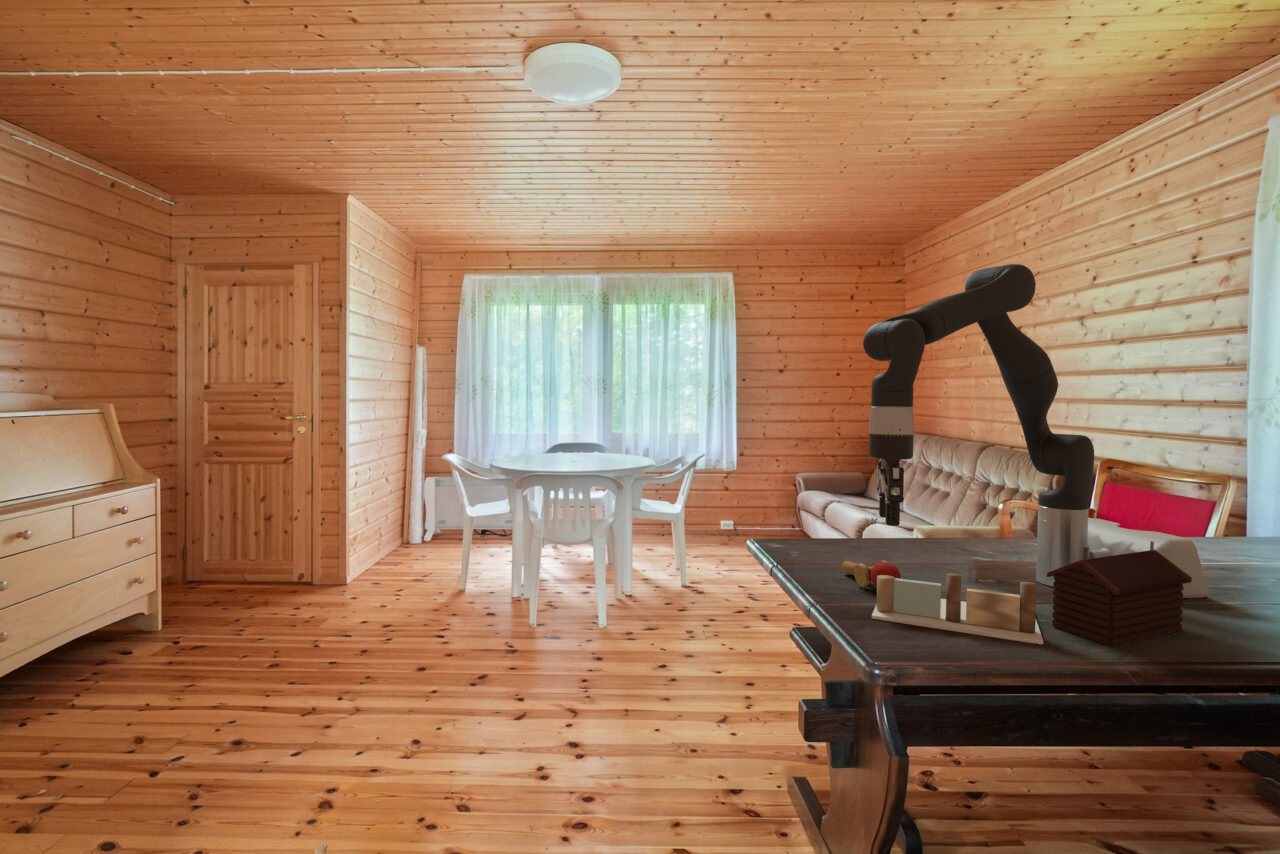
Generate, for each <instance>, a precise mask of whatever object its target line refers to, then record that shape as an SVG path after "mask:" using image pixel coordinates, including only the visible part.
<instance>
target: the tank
mask: <svg viewBox="0 0 1280 854" xmlns="http://www.w3.org/2000/svg"><path fill="white" fill-rule="evenodd" d="M1120 526H1121V523H1118V522H1116V521H1115V522H1114V521H1111V520H1106V519H1102V518H1097V517H1095V518H1093V517H1092V518H1091V517H1088V542H1087V544H1088V545H1089V559H1093V558H1100V557H1107V556H1114V555H1121V554H1128V553H1135V552H1142V551H1149V550H1150V541H1153V542H1154V550H1156V551H1157V552H1159V553H1160V554H1161V555H1163V556H1164V557H1165V558H1167V559H1168V560H1169V561H1171V562H1172V563H1173V564H1175V565H1176V566H1177V567H1178V568H1180V569H1181V570H1182V571H1184V572H1185V573H1186V574H1188V575H1189V576H1190V577H1192V582H1190V583H1185V584H1183V587H1184V589H1183V590H1182V593H1183V598H1189V599H1207V598H1209V597H1210V591H1209V587H1208V583H1207V580H1206V578H1205V577H1206V576H1205V573H1204V571H1203V566H1202V564H1201V560H1200V556H1199V554H1198V550H1197V546H1196V544H1195V543H1194V542H1193V541H1192V540H1191V539H1189V538H1186V537H1182V536H1177V535H1174V534H1169V533H1163V532H1161V531H1160V532H1159V531H1151V530H1139V529H1131V528H1124V527H1120ZM1204 597H1205V598H1204ZM1206 597H1207V598H1206Z"/></svg>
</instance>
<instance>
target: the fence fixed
mask: <svg viewBox="0 0 1280 854" xmlns="http://www.w3.org/2000/svg"><path fill="white" fill-rule="evenodd" d="M945 587H946V588H945V589H946V591H945V599H946V620H947V621H950V622H960V618H961V601H962V575H961V574H960V573H954V572H947V573H946V586H945ZM1037 587H1038V586H1037V583H1035V582H1032V581H1026V580H1025V581H1020V582H1019V594H1015V593H1007V592H1006V593H1005V592H999V591H998V592H997V591H990V590H983V589H974V588H966V601H965V602H966V623H968V624H975V625H982V626H988V627H995V628H1002V629H1009V630H1016V631H1019V630H1020V631H1021V632H1025V633H1030V634H1034V633H1035V623H1036V621H1037V618H1036V615H1037V614H1036V613H1037V612H1036V611H1037Z"/></svg>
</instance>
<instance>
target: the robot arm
mask: <svg viewBox="0 0 1280 854" xmlns="http://www.w3.org/2000/svg"><path fill="white" fill-rule="evenodd" d="M1035 292H1036V279H1035V275H1034V273H1033V271H1032V270H1031V269H1030V268H1029V267H1027V266H1026V265H1023V264H1019V263H1014V264H1013V263H1012V264H1011V263H1010V264H1003V265H998V266H992V267H986V268H981V269H977V270H974V271H973V272H971V273H970V274H969V275H968V276H967V277H966V281H965V286H964V291H962V292H959V293H955V294H951V295H948V296H944V297H941V298H938V299H935V300H933V301H931V302H928V303H926V304H924V305H922V306H920V307H918V308H916V309H914V310H912V311H910V312H907V313H904V314H900V315H897V316H893V317H890V318H887V319H884V320H881V321H878V322H876V323H875V324H873V325H872V326H870V327H869V328H868V330H866V332H865V333H864V336H863V340H862V346H863V350H864V353H865V354H866V355H867V356H868V357H869V358H870V359H872V360H875V361H878V362H886V361H890V362H889V364H888V368H887V370H886V371H885V372H883V373H882V372H881V373H880V374H877V375H875V376H874V378H872V382H871V397H870V398H871V399H870V400H871V403H870V406H871V407H870V413H869V420H868V421H869V422H868V424H869V425H868V456H869V458H872V459H879V460H878V461H877V470H876V473H877V479H876V485H877V487H876V491H877V495H878V497H879V500H878V501H879V502H878V503H879V505H878V507H879V508H878V514H879V515H878V516H879V517H880V518H885V524H886V526H889V527H890V526H893V527H898V526H899V525H900V522H901V521H900V520H901V519H900V518H901V517H900V516H901V505H902V503H904V500H905V498H904V485H905V483H904V481H905V480H904V479H905V476H904V474H905V468H904V467H902V466H901V463H900V461H901V460H910V459H912V458H913V457H914V436H915V435H914V434H915V433H914V432H915V417H914V384H915V380H916V378H917V374H918V371H919V368H920V365H921V361H922V358H923V355H924V353H925V347H926V345H931V344H934V343H936V342H937V341H940V340H942V339H944V338H945V337H947V336H949V335H952V334H954V333H955V332H958V331H960V330H962V329H964V328H966V327H969V326H971V325H973V324H975V323H977V325H978V327H979V328H980V330H981V332H982V334H983V336H984V337H985V339H986V342H987V343H988V346H989V348H990V350H991V353H992V354H993V357H994V359H995V362H996V364H997V366H998V369H999V372H1000V375H1001V378H1002V380H1003V382H1004V385H1005V388H1006V391H1007V392H1008V395H1009V397H1010V399H1011V402H1012V404H1013V405H1014V408H1015V411H1016V414H1017V417H1018V420H1019V423H1020V425H1021V429H1022V432H1023V436H1024V440H1025V444H1026V448H1027V452H1028V455H1029V458H1030V461H1031V463H1032V465H1033V466H1034V468H1035V469H1036V471H1038V472H1039V473H1042V474H1045V475H1052V476H1059V477H1060V476H1062V477H1064V481H1063V483H1062V485H1060V486H1058V487H1057V488H1052V489H1047V490H1044V491H1041V492H1039V494H1038V499H1037V500H1038V504H1037V505H1038V506H1037V535H1036V537H1037V539H1036V570H1035V574H1036V575H1035V579H1036V582H1038V583H1040V584H1043V585H1045V586H1049V587H1053V588H1054V585H1053V583H1054V581H1055V580H1054V576H1051V577H1047V573H1048V572H1050V571H1053V570H1056V569H1058V568H1061V567H1064V566H1066V565H1069V564H1072V563H1074V562H1077V561H1080V560H1086V559H1089V545H1088V544H1087V542H1088V518H1089V507H1090V500H1091V494H1092V490H1093V489H1092V486H1093V477H1094V474H1093V473H1094V467H1095V449H1094V448H1095V447H1094V445H1093V441H1092V440H1091V439H1090V437H1089V436H1086V435H1082V434H1070V433H1069V434H1068V433H1067V434H1065V433H1053V432H1052V431H1051V429H1050V427H1049V424H1048V419H1047V417H1048V413H1049V410H1050V408H1051V406H1052V404H1053V402H1054V401H1055V398H1056V395H1057V392H1058V389H1059V388H1058V387H1059V380H1058V376H1057V374H1056V371H1055V369H1054V365H1053V363H1052V361H1051V358H1050V356H1049V355H1048V353H1047V352H1046V351H1045V350H1044V349H1043V348H1042V347H1041V346H1040V345H1038V343H1036V341H1034V340H1033V339H1031V338H1030V337H1029V336H1028V335H1026V334H1025V333H1023V332H1022V330H1021V329H1019V328H1018V327H1017V326H1016V325H1015V324H1014V323H1013V321H1012V320H1011V318H1010V316H1009V314H1008V313H1012V312H1016V311H1019V310H1022V309H1025V307H1026V306H1028V305H1029V304H1030V303H1031V302H1032V300H1033V299H1034V296H1035Z"/></svg>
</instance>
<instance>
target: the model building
mask: <svg viewBox="0 0 1280 854" xmlns="http://www.w3.org/2000/svg"><path fill="white" fill-rule="evenodd" d="M1051 576H1054V580H1055V581H1054V583H1053V585H1054V587H1053V590H1052V592H1053V597H1052V601H1053V605H1052V610H1053V612H1052V618H1053V619H1052V621H1051V623H1052V627H1055V628H1057V629H1060V630H1063V631H1065V632H1069V633H1070V634H1071V633H1072V634H1075V635H1077V636H1080V637H1083V638H1086V639H1089V640H1092V641H1095V642H1097V643H1100V644H1103V645H1106V646H1111V647H1112V646H1118V645H1122V644H1126V642H1127V643H1130V642H1129V641H1131V642H1135V641H1134V640H1136V641H1139V640H1138V639H1140V640H1143V639H1142V638H1144V639H1147V638H1146V637H1149V638H1152V637H1151V636H1153V637H1156V636H1155V635H1158V636H1160V635H1159V634H1162V635H1165V634H1164V633H1167V634H1169V633H1168V632H1171V633H1174V632H1173V631H1176V632H1178V631H1177V630H1180V631H1181V629H1183V625H1182V622H1183V618H1182V614H1183V613H1184V612H1183V608H1182V607H1183V605H1184V602H1183V599H1182V598H1183V593H1182V590H1183V589H1184V587H1183V584H1185V583H1190V582H1192V577H1190V576H1189V575H1188V574H1186V573H1185V572H1184V571H1182V570H1181V569H1180V568H1178V567H1177V566H1176V565H1175V564H1173V563H1172V562H1171V561H1169V560H1168V559H1167V558H1165V557H1164V556H1163V555H1161V554H1160V553H1159V552H1157V551H1156V550H1154V542H1153V541H1150V550H1149V551H1142V552H1135V553H1128V554H1121V555H1114V556H1107V557H1100V558H1093V559H1086V560H1080V561H1077V562H1074V563H1072V564H1069V565H1066V566H1064V567H1061V568H1058V569H1056V570H1053V571H1050V572H1048V573H1047V577H1051ZM1121 643H1122V644H1121ZM1117 644H1118V645H1117Z"/></svg>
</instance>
